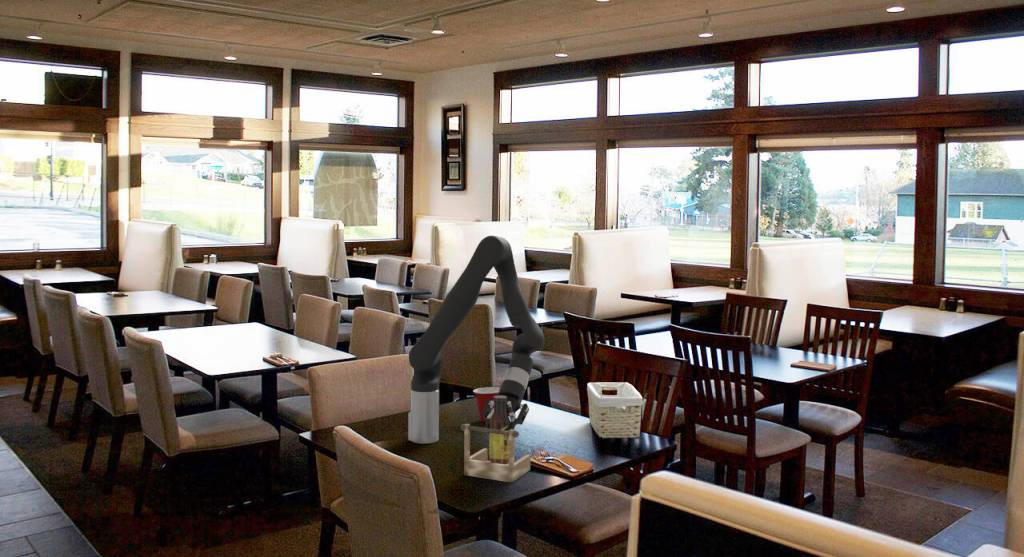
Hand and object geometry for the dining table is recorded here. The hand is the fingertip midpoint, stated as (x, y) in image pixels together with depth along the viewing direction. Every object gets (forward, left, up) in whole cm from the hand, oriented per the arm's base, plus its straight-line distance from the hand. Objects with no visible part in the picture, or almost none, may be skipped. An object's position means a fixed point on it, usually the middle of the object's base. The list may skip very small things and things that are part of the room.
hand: (497, 433), depth 255 cm
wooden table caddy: (0, +1, -12) cm, 12 cm away
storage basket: (+16, +62, -12) cm, 65 cm away
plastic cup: (-28, +53, -12) cm, 61 cm away
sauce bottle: (0, +2, -10) cm, 10 cm away
